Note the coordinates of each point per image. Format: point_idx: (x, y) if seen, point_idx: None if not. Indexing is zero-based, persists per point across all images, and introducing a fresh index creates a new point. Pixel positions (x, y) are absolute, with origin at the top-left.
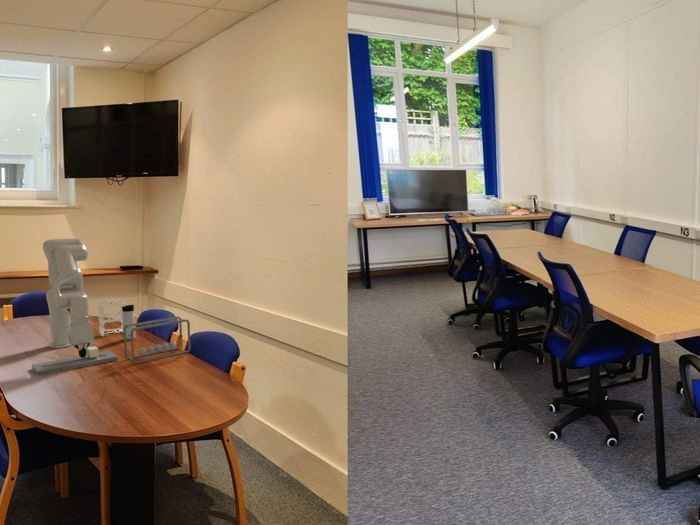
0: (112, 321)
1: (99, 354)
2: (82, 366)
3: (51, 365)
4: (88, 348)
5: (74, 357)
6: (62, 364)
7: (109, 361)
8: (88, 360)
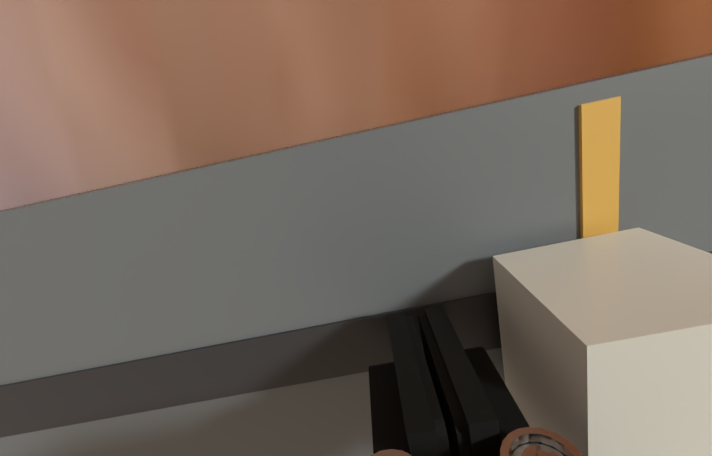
0: None
1: (686, 198)
2: None
3: (38, 429)
4: (612, 423)
5: (298, 175)
6: (169, 442)
7: None
8: None
